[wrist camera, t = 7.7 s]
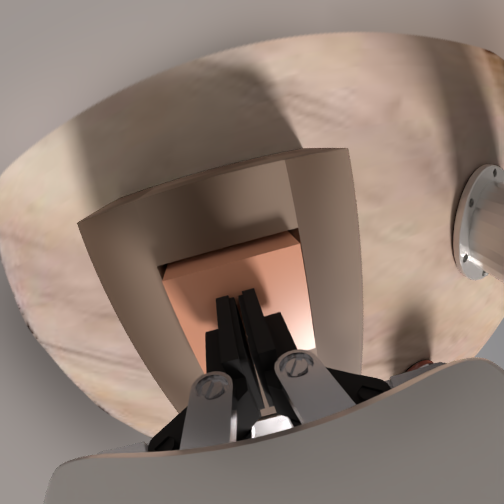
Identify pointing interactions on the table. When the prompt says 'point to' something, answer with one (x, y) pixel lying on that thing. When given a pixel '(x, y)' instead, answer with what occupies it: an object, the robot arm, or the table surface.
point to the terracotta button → (241, 287)
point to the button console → (227, 234)
